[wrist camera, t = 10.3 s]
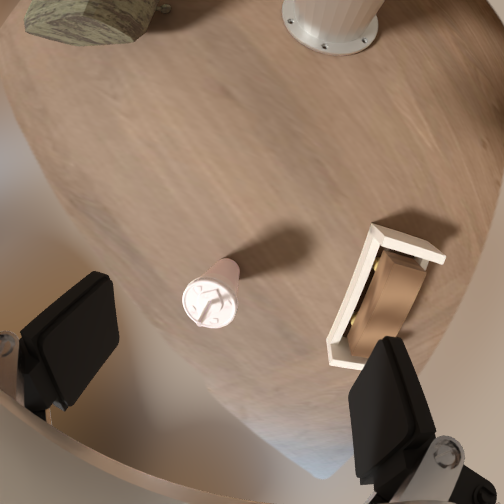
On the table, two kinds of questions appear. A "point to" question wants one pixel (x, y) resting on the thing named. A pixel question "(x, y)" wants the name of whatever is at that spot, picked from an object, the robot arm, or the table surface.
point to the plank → (385, 302)
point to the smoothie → (213, 295)
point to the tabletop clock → (91, 20)
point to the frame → (375, 238)
